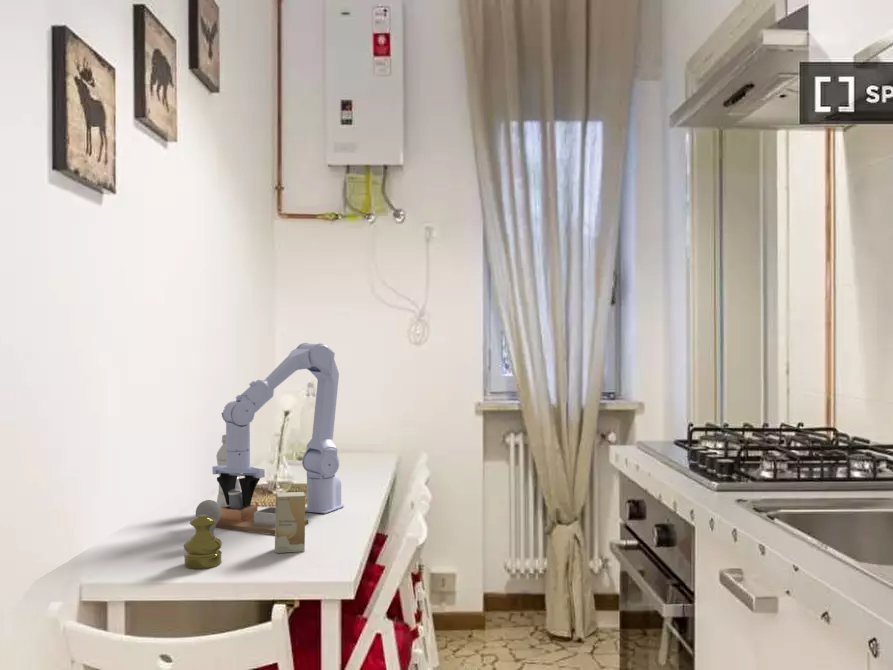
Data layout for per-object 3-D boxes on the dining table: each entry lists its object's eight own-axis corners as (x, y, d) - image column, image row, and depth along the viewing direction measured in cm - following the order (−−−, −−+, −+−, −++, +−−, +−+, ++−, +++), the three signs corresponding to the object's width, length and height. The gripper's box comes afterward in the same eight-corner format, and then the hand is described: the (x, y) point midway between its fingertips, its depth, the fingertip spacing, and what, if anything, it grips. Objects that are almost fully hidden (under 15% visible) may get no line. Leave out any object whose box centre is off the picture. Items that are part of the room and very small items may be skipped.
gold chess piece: (225, 558, 172) (225, 511, 172) (216, 569, 164) (216, 519, 164) (189, 559, 172) (189, 511, 172) (179, 569, 164) (179, 519, 164)
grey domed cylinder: (237, 516, 206) (234, 488, 206) (248, 516, 204) (246, 488, 204) (227, 520, 203) (225, 491, 202) (239, 520, 201) (236, 492, 201)
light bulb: (211, 540, 187) (211, 496, 186) (226, 544, 183) (226, 499, 183) (190, 545, 182) (190, 500, 182) (205, 549, 179) (204, 503, 179)
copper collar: (236, 515, 208) (236, 503, 208) (257, 517, 205) (257, 505, 205) (219, 520, 202) (219, 508, 202) (240, 523, 199) (240, 510, 199)
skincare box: (275, 553, 175) (275, 496, 175) (274, 548, 180) (274, 492, 179) (306, 551, 177) (306, 494, 177) (304, 546, 181) (304, 491, 181)
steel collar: (270, 518, 203) (270, 506, 203) (292, 521, 201) (292, 509, 201) (254, 524, 198) (253, 512, 198) (276, 527, 195) (276, 514, 195)
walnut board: (236, 515, 211) (236, 511, 211) (308, 524, 202) (308, 519, 202) (204, 526, 200) (204, 522, 200) (278, 535, 191) (278, 531, 191)
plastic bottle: (236, 514, 213) (235, 437, 213) (212, 513, 214) (211, 436, 214) (247, 509, 219) (246, 434, 219) (223, 508, 220) (223, 433, 220)
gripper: (203, 450, 203) (204, 505, 203) (251, 454, 197) (251, 510, 197) (223, 446, 209) (223, 500, 209) (269, 450, 203) (270, 505, 203)
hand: (238, 505), depth 203 cm, fingers open, 4 cm apart
